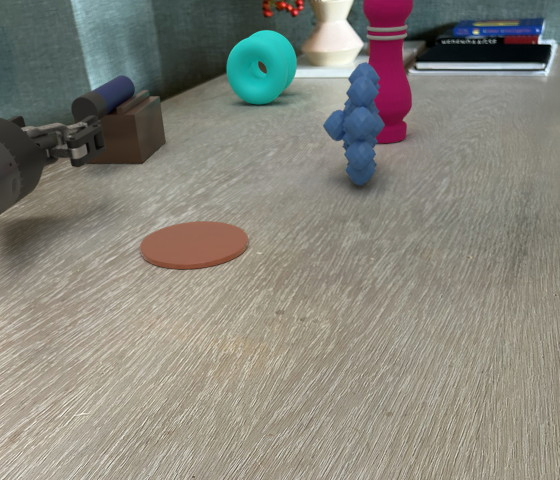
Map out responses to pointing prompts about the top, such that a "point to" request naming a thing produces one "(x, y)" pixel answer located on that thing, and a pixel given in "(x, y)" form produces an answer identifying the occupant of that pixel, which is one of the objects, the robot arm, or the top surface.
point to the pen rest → (132, 130)
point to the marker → (103, 99)
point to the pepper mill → (389, 64)
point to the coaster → (194, 245)
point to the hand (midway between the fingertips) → (58, 125)
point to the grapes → (358, 124)
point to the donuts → (250, 78)
